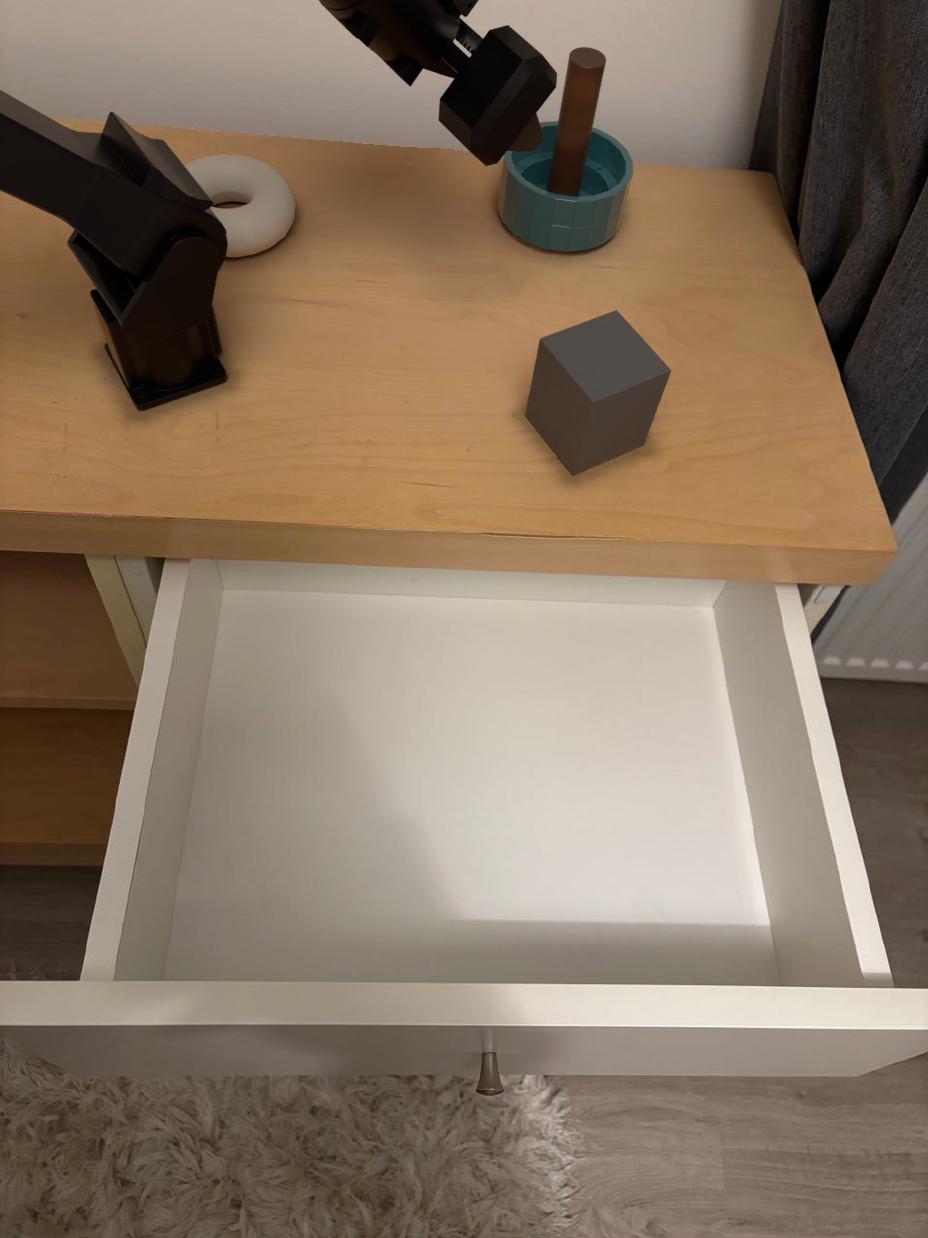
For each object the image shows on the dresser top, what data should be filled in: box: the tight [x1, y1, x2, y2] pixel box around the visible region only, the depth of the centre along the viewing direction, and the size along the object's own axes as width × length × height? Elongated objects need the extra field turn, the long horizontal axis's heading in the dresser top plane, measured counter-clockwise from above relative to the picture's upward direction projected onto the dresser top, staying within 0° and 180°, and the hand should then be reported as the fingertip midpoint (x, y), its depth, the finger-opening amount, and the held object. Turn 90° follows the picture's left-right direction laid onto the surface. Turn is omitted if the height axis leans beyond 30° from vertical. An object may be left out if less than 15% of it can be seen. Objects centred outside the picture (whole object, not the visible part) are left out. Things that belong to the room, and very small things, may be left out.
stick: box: [546, 46, 607, 197], centre depth 68 cm, size 3×3×12 cm
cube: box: [524, 309, 672, 476], centre depth 59 cm, size 6×6×7 cm
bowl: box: [497, 120, 634, 253], centre depth 72 cm, size 10×10×5 cm
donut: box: [184, 153, 297, 258], centre depth 69 cm, size 10×4×10 cm
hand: (498, 106), depth 62 cm, fingers open, 9 cm apart
